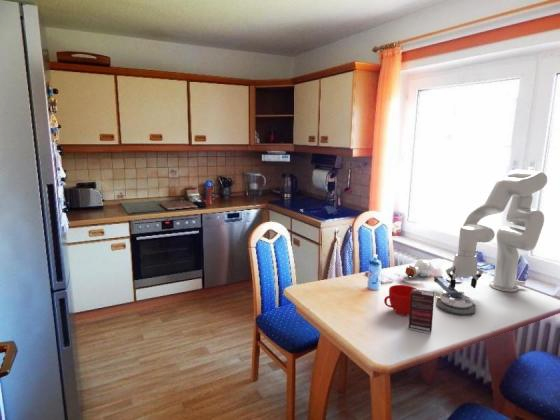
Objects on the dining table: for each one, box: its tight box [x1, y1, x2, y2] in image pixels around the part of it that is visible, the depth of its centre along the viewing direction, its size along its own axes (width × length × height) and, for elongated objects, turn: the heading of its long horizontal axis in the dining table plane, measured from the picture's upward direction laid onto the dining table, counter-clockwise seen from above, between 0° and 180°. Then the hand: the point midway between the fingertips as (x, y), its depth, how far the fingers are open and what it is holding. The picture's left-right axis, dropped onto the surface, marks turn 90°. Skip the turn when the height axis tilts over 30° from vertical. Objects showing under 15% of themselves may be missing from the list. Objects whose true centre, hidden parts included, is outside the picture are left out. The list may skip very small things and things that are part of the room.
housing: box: [434, 295, 477, 317], centre depth 167 cm, size 16×16×2 cm
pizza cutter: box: [433, 275, 474, 309], centre depth 174 cm, size 13×28×5 cm, turn 179°
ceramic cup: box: [383, 284, 417, 316], centre depth 161 cm, size 13×17×10 cm
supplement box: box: [408, 288, 435, 334], centre depth 147 cm, size 9×5×16 cm, turn 65°
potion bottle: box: [404, 258, 434, 278], centre depth 204 cm, size 9×10×15 cm
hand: (462, 286), depth 178 cm, fingers open, 9 cm apart
